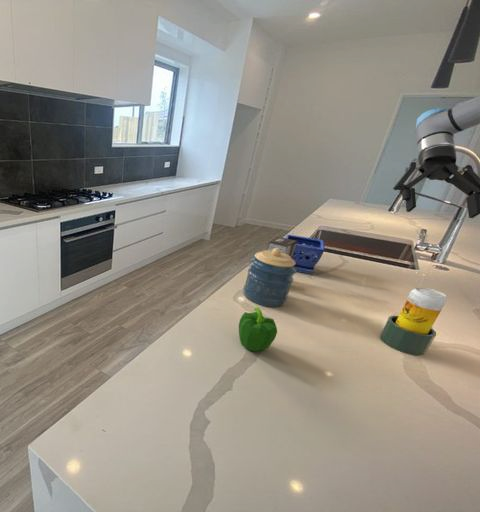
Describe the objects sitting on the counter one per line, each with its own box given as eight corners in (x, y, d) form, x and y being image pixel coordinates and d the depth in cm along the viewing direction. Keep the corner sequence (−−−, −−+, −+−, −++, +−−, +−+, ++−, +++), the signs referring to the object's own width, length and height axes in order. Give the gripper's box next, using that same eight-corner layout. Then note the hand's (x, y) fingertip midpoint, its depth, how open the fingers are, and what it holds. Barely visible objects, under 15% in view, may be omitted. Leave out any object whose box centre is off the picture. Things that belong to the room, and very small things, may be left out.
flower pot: (276, 268, 122) (284, 241, 117) (279, 258, 132) (286, 233, 127) (315, 277, 115) (325, 249, 110) (315, 266, 125) (324, 240, 120)
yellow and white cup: (382, 333, 82) (406, 285, 76) (406, 335, 81) (432, 287, 75) (400, 348, 76) (427, 297, 70) (426, 350, 76) (456, 299, 70)
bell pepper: (273, 360, 71) (284, 325, 68) (236, 351, 74) (245, 317, 70) (267, 339, 79) (277, 307, 75) (234, 332, 81) (242, 300, 77)
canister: (246, 284, 108) (258, 238, 101) (287, 295, 101) (303, 247, 94) (238, 299, 98) (251, 249, 91) (283, 312, 91) (301, 260, 84)
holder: (414, 339, 81) (424, 320, 79) (432, 359, 74) (444, 340, 71) (374, 330, 84) (382, 312, 82) (388, 349, 77) (398, 330, 74)
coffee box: (267, 274, 116) (278, 235, 110) (285, 281, 112) (298, 240, 105) (257, 281, 110) (268, 240, 104) (276, 288, 106) (289, 246, 100)
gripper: (481, 164, 90) (491, 225, 83) (378, 159, 98) (379, 213, 91) (504, 146, 83) (518, 210, 76) (392, 142, 92) (394, 199, 85)
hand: (442, 212), depth 84 cm, fingers open, 13 cm apart
